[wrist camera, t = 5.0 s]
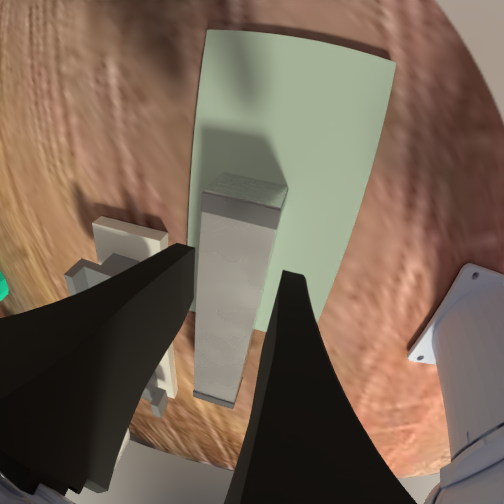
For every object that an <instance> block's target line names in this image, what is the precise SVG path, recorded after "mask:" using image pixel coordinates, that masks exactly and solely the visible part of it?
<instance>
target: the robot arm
mask: <svg viewBox="0 0 504 504" xmlns="http://www.w3.org/2000/svg"><path fill="white" fill-rule="evenodd" d="M194 271H195V247H191V246H187V245H183V244H179V243H176V244H174V245H171V246H169V247H167V248H166V249H164V250H162V251H160V252H158V253H156V254H154V255H152V256H151V257H149V258H147V259H145V260H143V261H141V262H140V263H138V264H136V265H134V266H132V267H130V268H128V269H127V270H125V271H123V272H121V273H119V274H117V275H115V276H113V277H111V278H109V279H107V280H105V281H103V282H101V283H99V284H97V285H95V286H93V287H91V288H88V289H86V290H84V291H82V292H79V293H77V294H75V295H72V296H70V297H67V298H65V299H62V300H60V301H57V302H54V303H51V304H48V305H45V306H42V307H39V308H36V309H33V310H30V311H27V312H24V313H20V314H16V315H12V316H8V317H4V318H0V473H1V474H2V475H3V476H4V477H5V478H6V479H5V478H3V477H2V476H1V474H0V504H75V503H73V502H72V501H70V500H69V499H67V498H66V497H64V496H65V494H66V492H67V490H68V488H69V489H70V490H72V491H74V492H75V493H77V494H80V493H81V491H82V489H83V487H86V488H88V489H90V490H92V491H94V492H96V493H101V492H105V491H108V488H109V485H110V481H111V477H112V474H113V470H114V467H115V464H116V460H117V457H118V455H119V452H120V449H121V446H122V443H123V440H124V437H125V435H126V432H127V430H128V427H129V424H130V422H131V419H132V417H133V414H134V412H135V410H136V407H137V405H138V403H139V400H140V398H141V396H142V394H143V391H144V389H145V387H146V386H147V384H148V382H149V380H150V378H151V376H152V375H153V373H154V371H155V370H156V368H157V366H158V365H159V363H160V361H161V360H162V358H163V356H164V355H165V353H166V351H167V350H168V348H169V346H170V345H171V343H172V341H173V340H174V338H175V336H176V335H177V333H178V331H179V330H180V328H181V326H182V324H183V322H184V320H185V318H186V316H187V313H188V311H189V309H190V306H191V304H192V302H193V299H194ZM475 272H476V274H475V275H474V276H472V275H473V274H474V273H475ZM407 357H408V360H410V361H414V362H421V363H428V364H436V366H437V371H438V375H439V380H440V385H441V390H442V395H443V401H444V407H445V413H446V420H447V427H448V435H449V444H450V455H451V463H450V464H448V465H446V466H444V467H442V468H441V469H440V483H439V484H438V485H436V486H435V487H434V488H433V490H432V491H431V492H430V493H429V495H428V497H427V498H426V500H425V502H424V504H504V274H501V273H498V272H495V271H492V270H489V269H487V268H484V267H481V266H478V265H475V264H472V263H468V264H465V265H464V266H463V267H462V268H461V270H460V272H459V274H458V276H457V277H456V279H455V281H454V283H453V285H452V286H451V288H450V290H449V291H448V293H447V295H446V296H445V298H444V300H443V301H442V303H441V305H440V306H439V308H438V309H437V311H436V313H435V314H434V316H433V317H432V319H431V320H430V322H429V323H428V325H427V326H426V328H425V329H424V331H423V332H422V334H421V335H420V336H419V338H418V339H417V341H416V342H415V343H414V345H413V346H412V348H411V349H410V350H409V352H408V353H407ZM224 504H417V503H416V502H415V500H414V499H413V498H412V497H411V496H410V494H409V493H408V492H407V491H406V490H405V488H404V487H403V486H402V485H401V483H400V482H399V480H398V479H397V478H396V477H395V475H394V474H393V473H392V471H391V470H390V468H389V467H388V465H387V464H386V462H385V461H384V460H383V458H382V457H381V455H380V454H379V452H378V451H377V449H376V447H375V446H374V444H373V443H372V441H371V439H370V438H369V436H368V434H367V433H366V431H365V429H364V428H363V426H362V424H361V423H360V421H359V419H358V418H357V416H356V414H355V412H354V410H353V408H352V406H351V404H350V402H349V401H348V399H347V397H346V395H345V393H344V391H343V388H342V386H341V384H340V382H339V380H338V378H337V376H336V373H335V371H334V369H333V366H332V364H331V361H330V359H329V356H328V354H327V351H326V348H325V346H324V343H323V340H322V337H321V334H320V331H319V328H318V325H317V322H316V319H315V316H314V312H313V309H312V305H311V301H310V297H309V292H308V287H307V281H306V278H305V276H304V275H303V274H299V273H294V272H290V271H286V270H283V271H282V275H281V279H280V282H279V286H278V290H277V294H276V298H275V302H274V305H273V309H272V313H271V317H270V320H269V324H268V328H267V332H266V335H265V339H264V343H263V347H262V352H261V358H260V364H259V370H258V376H257V382H256V388H255V393H254V399H253V405H252V411H251V415H250V420H249V424H248V428H247V431H246V435H245V438H244V441H243V445H242V448H241V451H240V455H239V458H238V461H237V465H236V468H235V471H234V474H233V477H232V480H231V484H230V487H229V490H228V493H227V496H226V499H225V502H224Z"/></svg>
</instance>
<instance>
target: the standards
mask: <svg viewBox="0 0 504 504" xmlns="http://www.w3.org/2000/svg"><path fill="white" fill-rule="evenodd" d="M92 226H93V233H94V240H95V246H96V252H97V258H98V263H99V264H96V263H93V262H91V261H88V260H85V259H82V258H81V259H80V260H79V261H78V262H77V263H76V264H75V265H74V266H73V267H72V268H70V269H69V270H68V271H67V272H66V273H65V274H64V276H65V280H66V283H67V287H68V290H69V293H70V296H72V295H75V294H77V293H79V292H82V291H84V290H86V289H88V288H91V287H93V286H95V285H97V284H99V283H101V282H103V281H105V280H107V279H109V278H111V277H113V276H115V275H117V274H119V273H121V272H123V271H125V270H127V269H128V268H130V267H132V266H134V265H136V264H138V263H140V262H141V261H143V260H145V259H147V258H149V257H151V256H152V255H154V254H156V253H158V252H160V251H162V250H164V249H166V248H167V247H168V233H167V232H163V231H159V230H155V229H151V228H147V227H143V226H139V225H135V224H131V223H127V222H123V221H119V220H115V219H111V218H107V217H103V216H101V217H99V218H98V219H97V220H95V221H94V222H93V223H92ZM177 392H178V388H177V380H176V370H175V360H174V350H173V341H172V343H171V345H170V346H169V348H168V350H167V351H166V353H165V355H164V356H163V358H162V360H161V361H160V363H159V365H158V366H157V368H156V370H155V371H154V373H153V375H152V376H151V378H150V380H149V382H148V384H147V386H146V387H145V389H144V391H143V394H142V396H141V398H144V399H146V400H148V401H151V403H150V405H151V408H152V411H153V414H154V415H155V416H157V417H160V418H161V417H162V415H163V412H164V410H165V408H166V406H167V404H168V398H167V396H168V397H171V398H175V396H176V394H177Z"/></svg>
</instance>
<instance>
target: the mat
mask: <svg viewBox="0 0 504 504" xmlns="http://www.w3.org/2000/svg"><path fill="white" fill-rule="evenodd" d="M395 67H396V63H395V62H393V61H390V60H387V59H384V58H381V57H378V56H374V55H371V54H368V53H364V52H361V51H357V50H354V49H350V48H346V47H342V46H338V45H333V44H329V43H324V42H320V41H315V40H310V39H304V38H298V37H292V36H285V35H278V34H270V33H261V32H250V31H236V30H207V35H206V41H205V48H204V54H203V62H202V69H201V76H200V84H199V93H198V101H197V110H196V120H195V130H194V141H193V153H192V167H191V181H190V198H189V218H188V246H191V247H195V271H194V299H193V302H192V304H191V306H190V309H189V310H190V311H193V312H196V296H197V276H198V259H199V244H200V231H201V218H202V212H201V211H200V205H201V194H202V192H203V191H204V189H205V188H207V187H208V186H209V185H210V184H211V183H212V182H213V181H214V180H215V179H217V178H218V177H219V176H220V175H221V174H222V173H223V172H226V173H231V174H236V175H241V176H245V177H250V178H254V179H259V180H263V181H268V182H272V183H276V184H280V185H284V186H288V189H289V190H288V194H287V199H286V203H285V207H284V210H283V213H282V216H281V220H280V225H279V229H278V233H277V238H276V242H275V246H274V250H273V255H272V259H271V263H270V267H269V272H268V276H267V280H266V284H265V288H264V292H263V297H262V301H261V305H260V309H259V313H258V317H257V321H256V325H255V329H257V330H261V331H264V332H267V328H268V324H269V320H270V317H271V313H272V309H273V305H274V302H275V298H276V294H277V290H278V286H279V282H280V279H281V275H282V271H283V270H286V271H290V272H294V273H299V274H303V275H304V276H305V278H306V281H307V287H308V292H309V297H310V301H311V305H312V309H313V312H314V316H315V319H316V322H318V319H319V317H320V315H321V312H322V310H323V307H324V305H325V302H326V300H327V297H328V295H329V292H330V290H331V287H332V285H333V282H334V279H335V277H336V274H337V272H338V269H339V266H340V263H341V261H342V258H343V255H344V252H345V250H346V247H347V244H348V241H349V238H350V235H351V232H352V230H353V227H354V224H355V221H356V218H357V214H358V211H359V208H360V205H361V202H362V199H363V196H364V192H365V189H366V186H367V182H368V179H369V175H370V172H371V169H372V165H373V161H374V158H375V154H376V150H377V147H378V143H379V139H380V135H381V131H382V127H383V123H384V119H385V115H386V110H387V106H388V101H389V97H390V92H391V87H392V83H393V78H394V72H395Z"/></svg>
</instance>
